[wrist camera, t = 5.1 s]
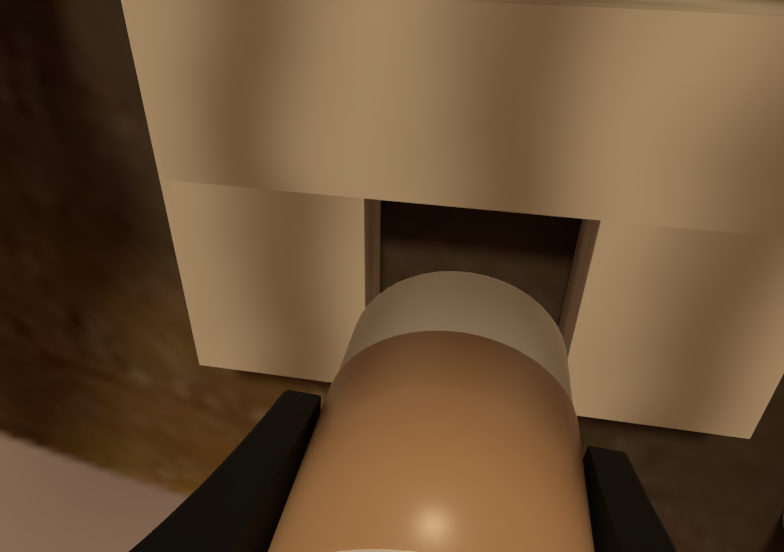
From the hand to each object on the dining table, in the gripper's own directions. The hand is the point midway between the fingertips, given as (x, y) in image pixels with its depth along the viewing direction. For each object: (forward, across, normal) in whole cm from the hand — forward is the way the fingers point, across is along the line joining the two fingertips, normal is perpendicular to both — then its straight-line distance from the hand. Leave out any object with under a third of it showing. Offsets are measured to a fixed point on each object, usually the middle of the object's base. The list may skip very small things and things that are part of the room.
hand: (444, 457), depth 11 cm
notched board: (+10, 0, -1) cm, 10 cm away
